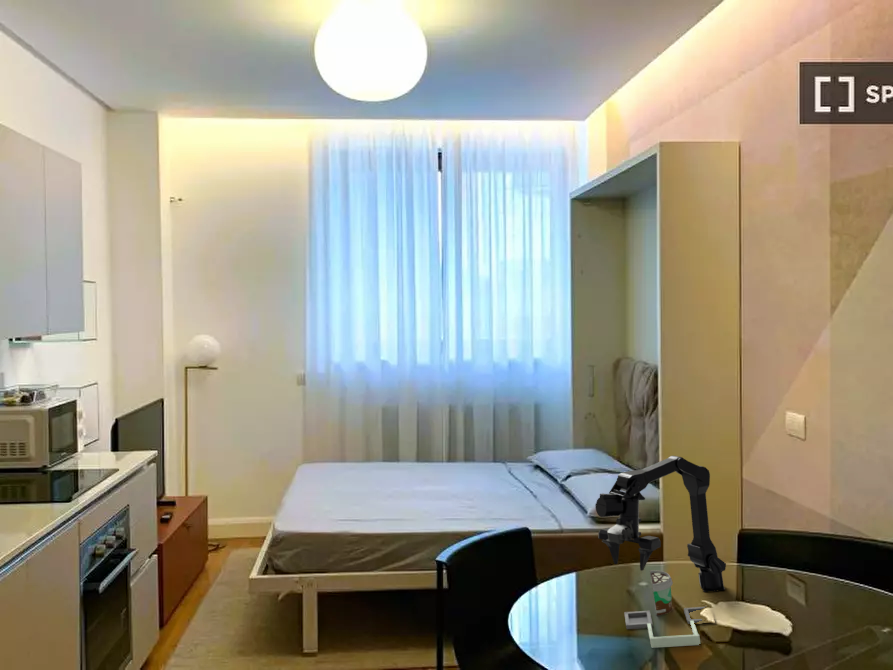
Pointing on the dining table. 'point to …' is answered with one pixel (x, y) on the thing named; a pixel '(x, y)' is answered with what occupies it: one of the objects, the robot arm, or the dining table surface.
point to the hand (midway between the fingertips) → (628, 567)
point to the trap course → (644, 621)
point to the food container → (661, 591)
